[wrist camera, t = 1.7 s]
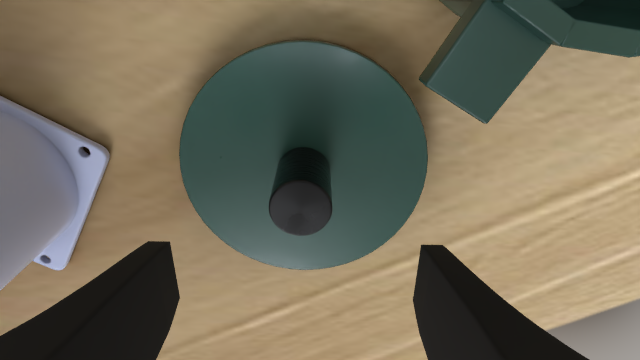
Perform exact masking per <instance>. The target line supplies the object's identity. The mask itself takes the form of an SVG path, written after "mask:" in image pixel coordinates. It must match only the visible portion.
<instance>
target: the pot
mask: <svg viewBox="0 0 640 360" xmlns="http://www.w3.org/2000/svg"><path fill="white" fill-rule="evenodd" d="M439 1H441V2H442V3H443V4H444V5H445V6H446V7H448V8H449V9H450V10H451V11H452V12H454V13H455V14H456V15H458V16H460V17H461V18H460V19H459V21H458V22H457V24H456V25H455V27H454V28H453V29H452V31H451V32H450V34H449V35H448V37H447V38H446V39H445V41H444V42H443V44H442V45H441V47H440V48H439V50H438V51H437V52H436V54H435V55H434V57H433V58H432V60H431V61H430V63H429V64H428V65H427V67H426V68H425V70H424V71H423V73H422V74H421V75H420V77H419V80H420V81H421V82H422V83H423V84H424V85H425V86H426V87H428V88H430V89H431V90H433V91H434V92H436V93H437V94H439V95H440V96H442V97H444V98H445V99H447V100H448V101H450V102H451V103H453V104H454V105H456V106H457V107H459V108H461V109H462V110H464V111H465V112H467V113H468V114H470V115H471V116H473V117H475V118H476V119H478V120H479V121H481V122H482V123H485V124H487V123H488V122H489V121H490V119H491V118H492V117H493V116H494V115H495V113H496V112H497V111H498V110H499V108H500V107H501V106H502V105H503V103H504V102H505V101H506V100H507V98H508V97H509V96H510V95H511V94H512V92H513V91H514V90H515V89H516V87H517V86H518V85H519V84H520V82H521V81H522V80H523V79H524V77H525V76H526V75H527V74H528V72H529V71H530V70H531V69H532V68H533V66H534V65H535V64H536V63H537V61H538V60H539V59H540V58H541V56H542V55H543V54H544V53H545V51H546V50H547V49H548V48H549V47H550V45H551V44H552V45H556V46H561V47H567V48H573V49H579V50H586V51H592V52H598V53H605V54H611V55H617V56H623V57H637V56H640V0H439Z"/></svg>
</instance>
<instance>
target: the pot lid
mask: <svg viewBox="0 0 640 360" xmlns="http://www.w3.org/2000/svg"><path fill="white" fill-rule="evenodd" d="M179 156H180V168H181V173H182V178H183V182H184V186H185V188H186V191H187V194H188V196H189V199H190V200H191V202H192V204H193V206H194V208H195V210H196V211H197V213H198V214H199V216H200V217H201V219H202V220H203V221H204V223H205V224H206V225H207V226H208V227H209V228H210V229H211V230H212V232H213V233H214V234H216V235H217V236H218V237H219V238H220V239H221V240H222V241H224V242H225V243H226V244H228V245H229V246H231V247H232V248H233V249H235V250H236V251H238V252H240V253H242V254H244V255H246V256H248V257H250V258H252V259H254V260H257V261H259V262H262V263H265V264H269V265H272V266H276V267H282V268H288V269H299V270H312V269H323V268H330V267H335V266H339V265H342V264H346V263H349V262H351V261H354V260H357V259H359V258H361V257H363V256H365V255H367V254H369V253H371V252H373V251H374V250H376V249H377V248H379V247H380V246H382V245H383V244H384V243H385V242H387V241H388V240H389V239H390V238H391V237H392V236H394V235H395V234H396V232H397V231H398V230H399V229H400V228H401V227H402V226H403V225H404V223H405V222H406V221H407V219H408V218H409V216H410V215H411V214H412V212H413V210H414V208H415V206H416V204H417V202H418V200H419V198H420V195H421V192H422V189H423V187H424V182H425V178H426V173H427V161H428V154H427V141H426V137H425V132H424V128H423V125H422V122H421V119H420V117H419V114H418V112H417V110H416V108H415V106H414V104H413V102H412V101H411V99H410V97H409V96H408V95H407V93H406V92H405V91H404V89H403V88H402V87H401V85H400V84H399V83H398V82H397V81H396V80H395V79H394V78H393V77H392V76H391V75H390V74H389V73H388V72H387V71H386V70H385V69H383V68H382V67H381V66H379V65H378V64H377V63H375V62H374V61H373V60H371V59H369V58H367V57H365V56H364V55H362V54H360V53H358V52H356V51H354V50H351V49H348V48H346V47H343V46H340V45H336V44H332V43H328V42H323V41H313V40H289V41H281V42H276V43H271V44H267V45H264V46H261V47H258V48H255V49H253V50H250V51H248V52H246V53H244V54H242V55H240V56H238V57H237V58H235V59H233V60H232V61H231V62H229V63H228V64H226V65H225V66H224V67H222V68H221V69H220V70H219V71H217V72H216V73H215V74H214V75H213V76H212V77H211V78H210V79H209V80H208V81H207V82H206V84H205V85H204V86H203V88H202V89H201V90H200V91H199V93H198V94H197V96H196V97H195V99H194V101H193V103H192V105H191V106H190V108H189V111H188V113H187V116H186V119H185V121H184V124H183V129H182V133H181V138H180V152H179Z"/></svg>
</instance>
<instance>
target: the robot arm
mask: <svg viewBox="0 0 640 360" xmlns="http://www.w3.org/2000/svg"><path fill="white" fill-rule="evenodd" d="M83 147H86V148H88V149H89V151H90V154H88V153H86V152H85V151H84V149H83ZM109 159H110V154H109V152H108V150H107V149H106V148H105V147H103V146H102V145H100V144H98V143H96V142H94V141H92V140H90V139H88V138H86V137H84V136H82V135H79V134H77V133H75V132H73V131H71V130H69V129H67V128H65V127H63V126H61V125H59V124H57V123H55V122H53V121H51V120H49V119H47V118H45V117H43V116H41V115H39V114H37V113H35V112H33V111H31V110H28V109H26V108H24V107H22V106H20V105H18V104H16V103H14V102H12V101H10V100H8V99H6V98H4V97H2V96H0V290H1V289H3V288H4V287H5V286H6V285H7V284H8V283H9V282H10V281H11V280H12V279H13V278H14V277H15V276H17V275H18V274H19V273H20V272H21V271H22V270H23V269H24V268H25V267H26V266H27V265H28V264H29V263H30V262H32V261H34V262H37V263H39V264H41V265H44V266H46V267H49V268H51V269H54V270H62V269H64V268H65V267H66V266H67V264H68V263H69V261H70V258H71V256H72V253H73V250H74V248H75V245H76V243H77V240H78V238H79V235H80V233H81V230H82V228H83V225H84V223H85V220H86V217H87V215H88V212H89V210H90V207H91V205H92V202H93V200H94V197H95V195H96V192H97V190H98V187H99V184H100V182H101V179H102V177H103V174H104V172H105V169H106V167H107V164H108V162H109ZM46 256H48V257H49V258H48V257H46ZM179 298H180V296H179V290H178V285H177V279H176V274H175V268H174V263H173V257H172V251H171V246H170V242H155V241H148V242H147V243H145V244H143V245H142V246H140V247H139V248H137V249H136V250H134V251H133V252H132V253H130V254H129V255H127V256H126V257H124V258H123V259H122V260H120V261H119V262H117V263H116V264H115V265H113V266H112V267H110V268H109V269H107V270H106V271H105V272H103V273H102V274H100V275H99V276H97V277H96V278H95V279H93V280H92V281H90V282H89V283H87V284H86V285H84V286H83V287H81V288H80V289H78V290H77V291H75V292H74V293H72V294H70V295H69V296H67V297H66V298H64V299H63V300H61V301H60V302H58V303H57V304H55V305H53V306H52V307H50V308H49V309H47V310H45V311H44V312H42V313H40V314H39V315H37V316H35V317H34V318H32V319H30V320H28V321H27V322H25V323H23V324H21V325H19V326H18V327H16V328H14V329H12V330H10V331H9V332H7V333H5V334H3V335H1V336H0V360H156V358H157V356H158V354H159V352H160V350H161V348H162V345H163V343H164V341H165V339H166V337H167V335H168V332H169V330H170V327H171V324H172V321H173V318H174V315H175V312H176V308H177V305H178V302H179ZM413 303H414V308H415V313H416V319H417V323H418V328H419V333H420V336H421V339H422V342H423V345H424V348H425V351H426V355H427V358H428V360H589V359H587V358H585V357H584V356H582V355H581V354H579V353H577V352H576V351H574V350H573V349H571V348H570V347H568V346H567V345H565V344H564V343H562V342H561V341H559V340H558V339H556V338H555V337H553V336H552V335H550V334H549V333H548V332H546V331H545V330H543V329H542V328H540V327H539V326H537V325H536V324H535V323H533V322H532V321H531V320H529V319H528V318H527V317H525V316H524V315H523V314H522V313H520V312H519V311H518V310H516V309H515V308H514V307H513V306H511V305H510V304H509V303H507V302H506V301H505V300H504V299H503V298H501V297H500V296H499V295H498V294H497V293H495V292H494V291H493V290H492V289H491V288H490V287H488V286H487V285H486V284H485V283H484V282H483V281H482V280H481V279H479V278H478V277H477V276H476V275H475V274H474V273H473V272H472V271H471V270H469V269H468V268H467V267H466V266H465V265H464V264H463V263H462V262H461V261H460V260H459V259H458V258H456V257H455V256H454V255H453V254H452V253H451V252H450V251H449V250H448V249H447V248H445V247H444V246H443V245H421V251H420V257H419V264H418V270H417V277H416V284H415V290H414V297H413Z"/></svg>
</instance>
